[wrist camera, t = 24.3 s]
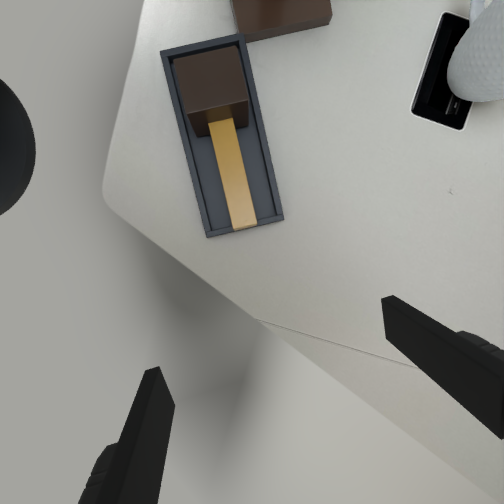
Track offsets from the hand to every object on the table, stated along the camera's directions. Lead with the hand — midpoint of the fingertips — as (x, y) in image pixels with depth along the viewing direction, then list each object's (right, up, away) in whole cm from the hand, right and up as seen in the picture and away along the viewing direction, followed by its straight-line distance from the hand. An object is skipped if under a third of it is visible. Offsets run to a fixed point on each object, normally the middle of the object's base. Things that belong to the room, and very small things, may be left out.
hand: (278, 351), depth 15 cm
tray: (-5, +20, +20) cm, 29 cm away
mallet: (-5, +19, +19) cm, 27 cm away
